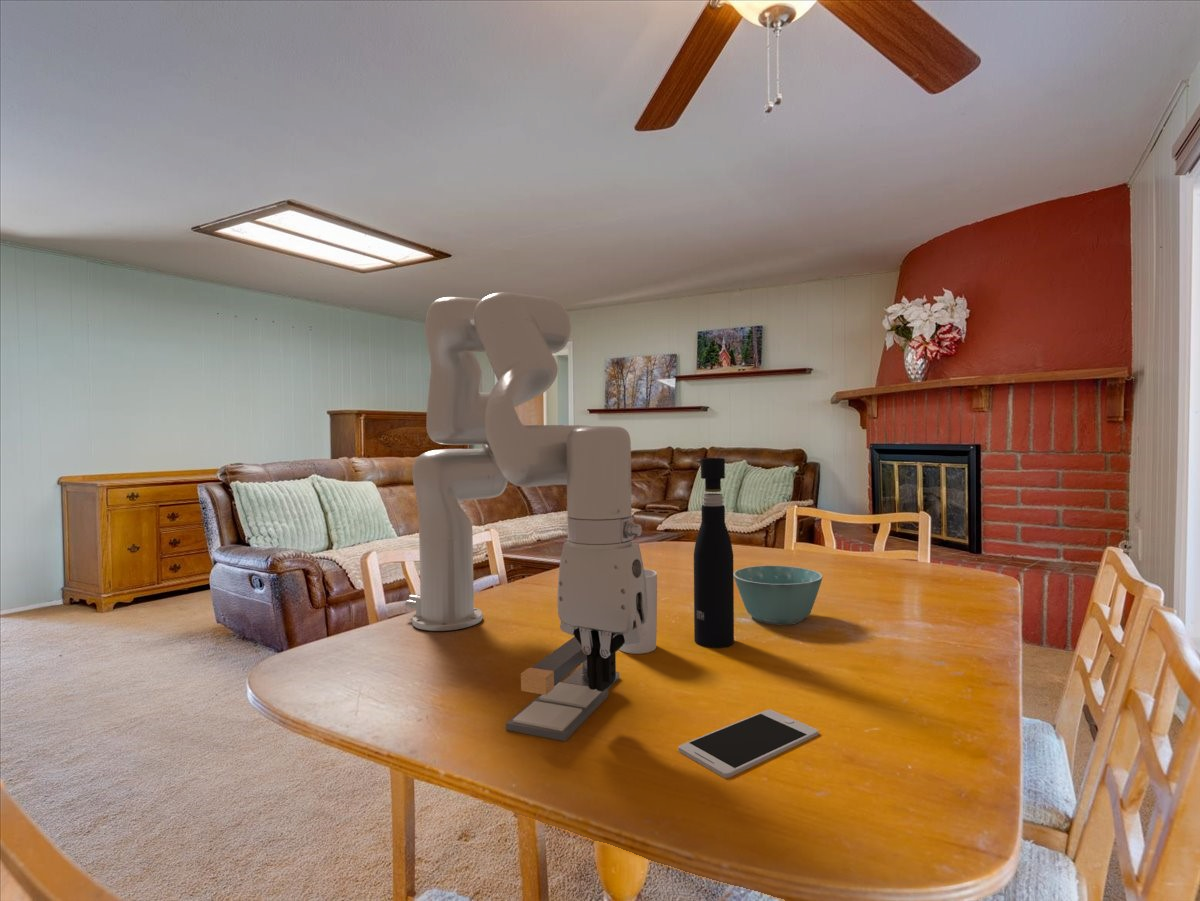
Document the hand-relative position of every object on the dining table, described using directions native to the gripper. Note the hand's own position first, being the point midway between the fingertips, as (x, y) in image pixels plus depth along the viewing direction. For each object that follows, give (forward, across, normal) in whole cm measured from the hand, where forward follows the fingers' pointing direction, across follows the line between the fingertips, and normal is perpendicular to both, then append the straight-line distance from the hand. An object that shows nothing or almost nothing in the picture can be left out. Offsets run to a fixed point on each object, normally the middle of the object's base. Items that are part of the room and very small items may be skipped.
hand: (601, 686), depth 75 cm
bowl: (+5, -8, -52) cm, 53 cm away
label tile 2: (+4, +6, -4) cm, 9 cm away
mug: (+5, +9, -27) cm, 29 cm away
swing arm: (0, +6, -3) cm, 7 cm away
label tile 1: (+4, +6, +3) cm, 8 cm away
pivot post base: (+4, +7, -10) cm, 13 cm away
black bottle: (+5, -2, -34) cm, 35 cm away
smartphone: (+5, -17, -4) cm, 18 cm away
